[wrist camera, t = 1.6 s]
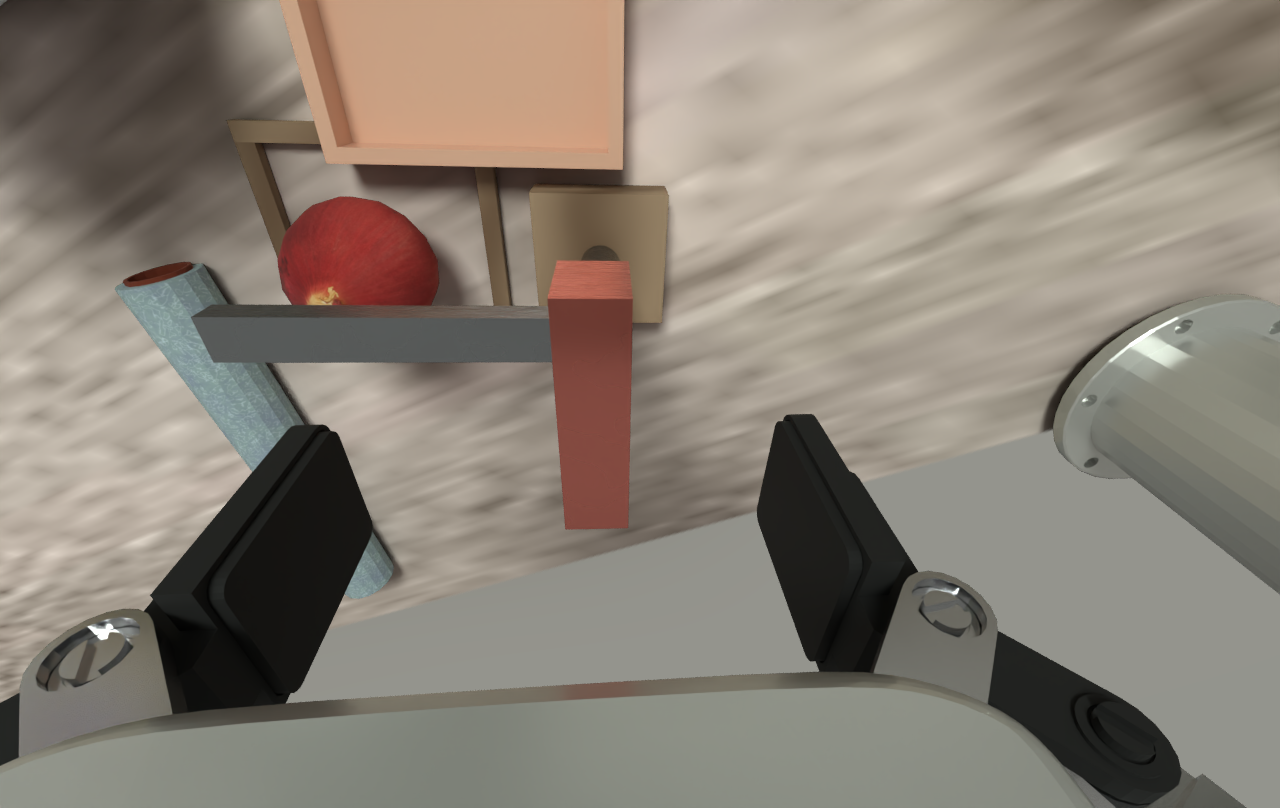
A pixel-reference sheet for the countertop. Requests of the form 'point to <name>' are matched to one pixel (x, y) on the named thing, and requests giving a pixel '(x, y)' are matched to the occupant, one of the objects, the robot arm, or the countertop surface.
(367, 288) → the onion
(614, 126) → the dish
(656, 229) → the tan frame with plate
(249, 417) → the aluminum foil
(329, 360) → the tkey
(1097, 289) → the countertop surface
